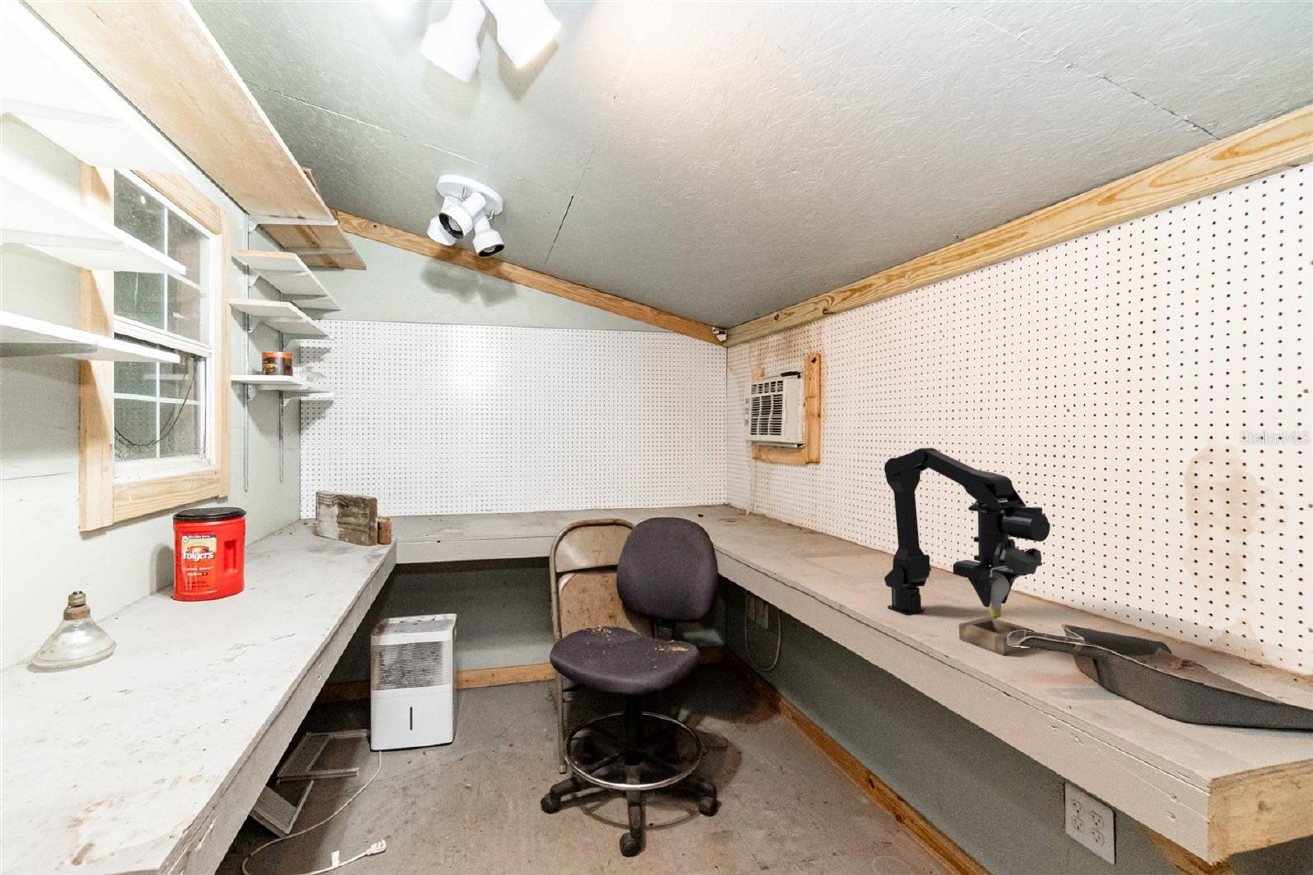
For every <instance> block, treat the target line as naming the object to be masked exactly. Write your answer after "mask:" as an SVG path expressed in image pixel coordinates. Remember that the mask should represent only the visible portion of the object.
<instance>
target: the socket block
mask: <svg viewBox="0 0 1313 875" xmlns="http://www.w3.org/2000/svg"><path fill="white" fill-rule="evenodd" d="M1016 630H1026V631H1031V632H1034V633H1035V630H1034V629H1031V628H1027V627H1024V626H1021V625H1018V624H1015V623H1011V622H1007V621H1006V620H1005V621H1004V620H1002V619H998V618H994V617H992V616H987V617H983V618H978V619H974V620H970V621H966V622H961V623H958V632H959V640H960V641H962V642H965V641H966V642H965V643H968V642H969V643H968V644H970V643H971V644H970V645H973V646H976V647H978V646H979V647H978V648H981V647H982V649H984V650H987V651H989V650H990V652H992V653H995V654H998V655H1000V656H1004V657H1005V656H1008V655H1012V654H1015V653H1019V652H1022V651H1026V650H1028V649H1029V650H1030V648H1021V647H1012V646H1009V645H1008V644H1007V635H1008V634H1009V633H1010V632H1013V631H1016Z"/></svg>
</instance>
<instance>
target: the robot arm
mask: <svg viewBox="0 0 1313 875" xmlns="http://www.w3.org/2000/svg"><path fill="white" fill-rule="evenodd" d="M883 467H884V468H883V469H884V470H883V471H884V474H885V479H886V483H887V484H888V485H889V487H890V489H891V490H892V491H893V498H894V509H895V510H894V511H895V522H896V533H897V534H896V535H897V544H898V546H897V547H898V548H897V549H896V552H895V554H894V556H893V559H892V569H891V571H889V572H888V573H887V575H886V576H884V577H883V579H884V582H885V585H886V587H888V588H891V605H887V609H889V610H893V611H896V612H899V613H900V614H904V615H907V616H908V615H913V614H917V613H921V612H922V613H923V612H925V611H926V610H925V608H924V607H923V608H922V597H921V596H922V594H921V593H920V591H921V590H920V587H925V586H926V583H927V582H926V581H927V579H928V578H929V577H930V574H931V572H930V571H932V568H931V563H930V562H931V561H930V560H931V557H930V555H929V554H924V553H925V552H923V550H922V549H921V547H920V536H919V525H918V514H917V503H916V502H917V500H916V490H917V488H918V485H919V484H920V481H921V473H922V472H924V471H925V470H928V469H930V470H932V471H934V472H936V473H938V474H940V475H942V476H944V477H945V478H947V479H949V480H951V481H953V482H955V483H956V484H959V485H960V486H962V487H963V489H964V491H965V492H966V494H968V495H969V496H971V497H972V498H973V499H974V500H975V502H974V503H973V504H971V505H970V506H969V507H968V508H967V510H969V511H970V512H977V536H973V542H975V543H977V544H978V545H977V546H978V548H977V549H978V554H975V555H973V560H971V559H963V560H958V561H956V562H954V563H953V564H952V574H953V575H955V576H959V577H963V578H966V579H968V581H969V582H970V584H971V585H972V587H973V589H974V590H975V593H976V594H977V596H978V598H979V600H980V602H981V603H982V606H983V607H985V608H990V601H991V587H992V584H993V583H994V582H995V581H996V580H997V579H998V578H994V577H992V572H997V573H1000V574H1002V575H1003V576H1004V577H1005V578H1006V579H1007V580H1008V583H1009V591H1008V593H1007V595H1006V596H1005V597H1004V599H1003V601H1002V603H1001V604H1006V603H1007V600H1008V598H1009V595H1010V592H1011V589H1012V586H1013V585H1014V582H1015V580H1017V579H1018V578H1020V577H1026V576H1027V575H1035V573H1036V571H1037V568H1038V567H1041V566H1043V562H1042V552H1041V551H1040V550H1039V549H1037V548H1035V547H1032V548H1028V549H1027V550H1025V549H1023V548H1022V549H1019V548H1017V547H1016V542H1015V540H1014V538H1016V539H1022V540H1028V541H1033V542H1038V543H1040V542H1044V541H1045V540H1046V539H1047V538H1048V537H1049V534H1050V531H1051V522H1049V519H1048V517H1047V516H1046V514H1044V513H1043V508H1042V507H1039V506H1033V507H1032V506H1031V507H1030V506H1027V505H1026V503H1025V501H1024V500H1023V499H1022V498H1021V496H1020V495H1019V493H1018V492H1017V491H1016V489H1015V488H1014V486H1013V483H1012V480H1011V478H1009V477H1007V476H1006V475H1003V474H999V473H995V472H993V471H992V472H991V471H985V470H980V469H976V468H973V467H971V466H970V465H968V464H966V463H963V462H961V461H959V460H957V459H955V458H954V457H951V456H948V455H947V454H945V453H943V452H941V451H939V450H938V449H936V448H935V447H921V448H917V449H916V450H913V451H912V452H909V453H906V454H903V455H900V456H898V457H891V458H890V457H889V459H888V460H887V461H886V462H885V463H884V466H883ZM1010 537H1011V538H1010Z"/></svg>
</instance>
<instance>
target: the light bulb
mask: <svg viewBox="0 0 1313 875" xmlns="http://www.w3.org/2000/svg"><path fill="white" fill-rule="evenodd" d="M992 577H994V578H998V579H997V580H996V581H995V582H994V583H993V584H992V587H991V601H990V607H989V615H990V617H992V618H995V619H998V618H1001V617H1002V614H1001V613H1002V611H1001V610H1002V604H1003V603H1002V601H1003V599H1004V597H1005V596H1006V595H1007V593H1008V591H1009V583H1008V580H1007V579H1006V578H1005V577H1004V576H1003V575H1002V574H1000V573H997V572H992Z"/></svg>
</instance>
